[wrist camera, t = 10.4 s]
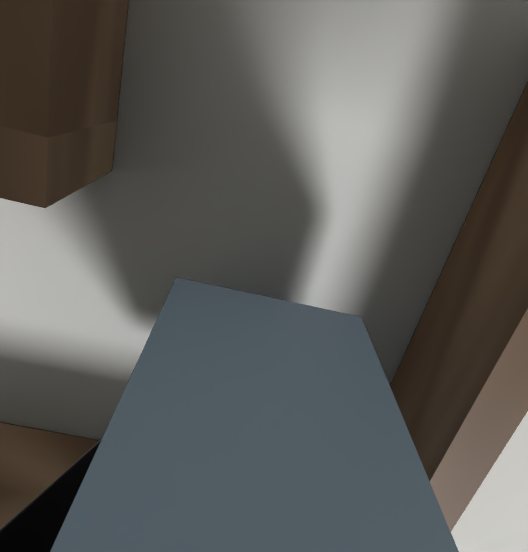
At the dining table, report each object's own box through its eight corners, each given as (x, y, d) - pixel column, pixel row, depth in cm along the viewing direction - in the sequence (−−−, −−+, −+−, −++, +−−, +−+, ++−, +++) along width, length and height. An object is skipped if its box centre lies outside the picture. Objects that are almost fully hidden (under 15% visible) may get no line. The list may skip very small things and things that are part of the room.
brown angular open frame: (-23, 445, 14) (-106, 549, 11) (-46, -162, 8) (-251, -323, 5) (366, 513, 16) (391, 624, 12) (605, 36, 9) (782, 10, 6)
